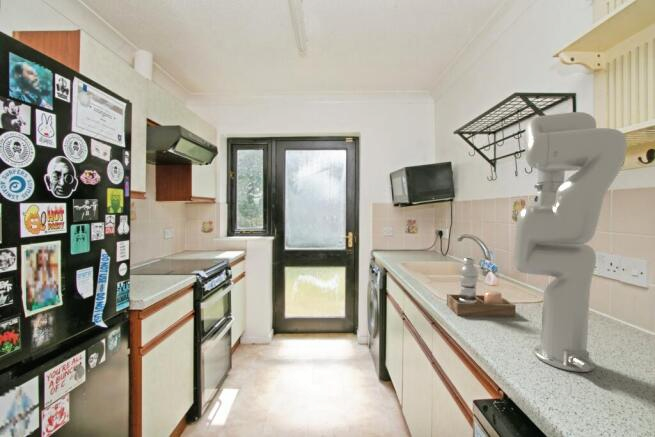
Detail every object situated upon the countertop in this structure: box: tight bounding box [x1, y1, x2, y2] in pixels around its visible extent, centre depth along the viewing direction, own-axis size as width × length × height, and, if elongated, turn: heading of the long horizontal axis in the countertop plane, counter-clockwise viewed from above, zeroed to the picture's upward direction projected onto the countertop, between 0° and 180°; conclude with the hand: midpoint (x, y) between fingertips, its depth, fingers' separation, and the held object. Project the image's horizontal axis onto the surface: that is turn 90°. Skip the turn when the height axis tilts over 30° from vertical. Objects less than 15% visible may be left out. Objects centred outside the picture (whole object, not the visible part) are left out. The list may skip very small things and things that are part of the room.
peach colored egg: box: [483, 290, 502, 304], centre depth 115 cm, size 6×6×7 cm
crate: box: [446, 293, 516, 318], centre depth 115 cm, size 12×20×5 cm, turn 87°
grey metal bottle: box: [459, 257, 479, 304], centre depth 115 cm, size 6×7×20 cm
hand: (548, 236), depth 107 cm, fingers open, 9 cm apart
